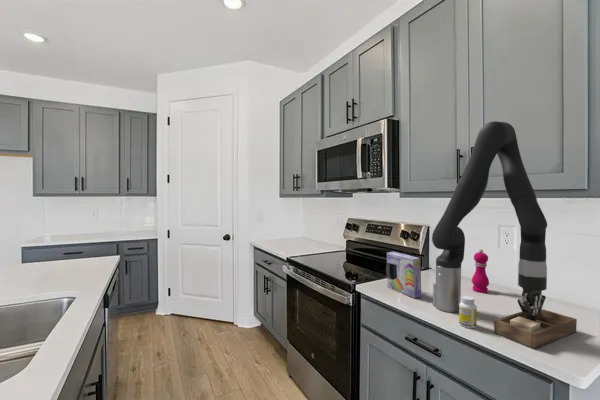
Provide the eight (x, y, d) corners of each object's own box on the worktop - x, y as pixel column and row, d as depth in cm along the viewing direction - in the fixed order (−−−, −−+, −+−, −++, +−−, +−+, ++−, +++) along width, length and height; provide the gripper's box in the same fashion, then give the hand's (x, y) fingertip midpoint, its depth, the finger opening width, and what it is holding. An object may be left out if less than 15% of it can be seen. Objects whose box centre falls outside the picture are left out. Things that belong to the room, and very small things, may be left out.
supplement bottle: (470, 322, 112) (471, 295, 112) (479, 328, 107) (480, 300, 106) (455, 322, 112) (456, 295, 112) (464, 328, 106) (464, 300, 106)
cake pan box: (384, 286, 154) (385, 251, 153) (392, 285, 156) (393, 250, 155) (413, 299, 136) (414, 259, 135) (422, 297, 138) (422, 258, 137)
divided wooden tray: (494, 333, 103) (494, 319, 103) (535, 319, 115) (536, 307, 115) (534, 349, 93) (535, 334, 92) (576, 332, 105) (576, 319, 104)
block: (509, 331, 100) (510, 320, 100) (518, 327, 104) (519, 316, 103) (531, 338, 95) (531, 327, 95) (539, 334, 98) (540, 322, 98)
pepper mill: (487, 289, 150) (488, 248, 150) (489, 294, 143) (490, 251, 143) (470, 287, 153) (471, 247, 153) (472, 292, 146) (473, 249, 146)
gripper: (530, 268, 108) (529, 317, 109) (508, 273, 102) (507, 325, 102) (555, 273, 102) (554, 326, 102) (534, 278, 95) (533, 334, 96)
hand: (531, 325), depth 102 cm, fingers closed
